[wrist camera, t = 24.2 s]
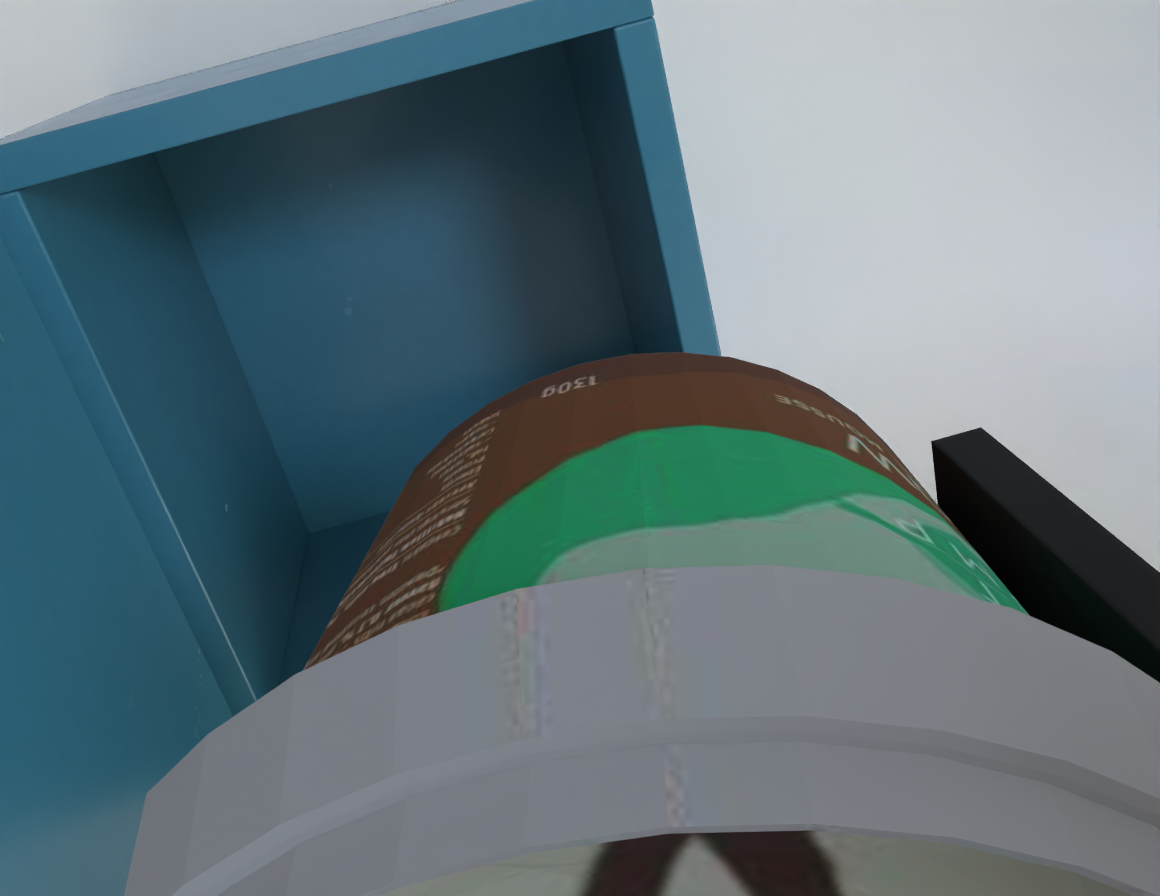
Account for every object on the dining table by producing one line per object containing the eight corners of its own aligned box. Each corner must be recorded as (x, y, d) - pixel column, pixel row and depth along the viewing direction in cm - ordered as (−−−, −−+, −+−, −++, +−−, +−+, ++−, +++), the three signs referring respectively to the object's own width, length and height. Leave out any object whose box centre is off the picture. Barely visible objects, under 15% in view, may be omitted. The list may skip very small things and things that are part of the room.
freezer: (572, -31, 36) (645, -31, 24) (678, 441, 44) (773, 615, 32) (107, 95, 36) (-47, 158, 24) (296, 548, 43) (249, 765, 32)
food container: (1172, 580, 18) (1801, 1257, 9) (898, 802, 20) (1175, 1538, 11) (593, 81, 14) (636, 342, 5) (333, 412, 16) (38, 1014, 7)
